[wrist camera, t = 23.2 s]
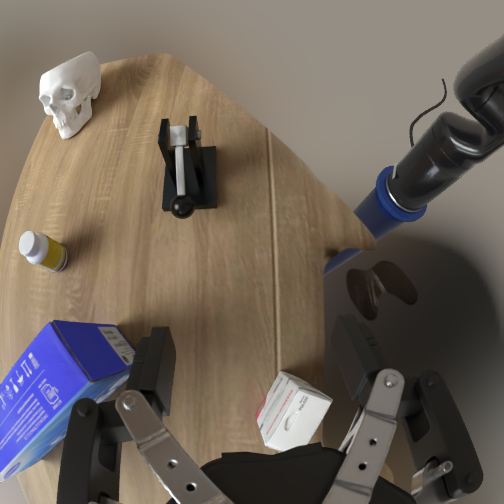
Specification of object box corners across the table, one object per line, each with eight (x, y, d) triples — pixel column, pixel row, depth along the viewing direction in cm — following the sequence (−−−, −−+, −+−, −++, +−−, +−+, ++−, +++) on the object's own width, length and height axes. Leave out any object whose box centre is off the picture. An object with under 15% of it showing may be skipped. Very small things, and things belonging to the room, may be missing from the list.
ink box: (283, 427, 36) (299, 459, 25) (254, 416, 36) (261, 446, 25) (309, 381, 38) (335, 398, 27) (280, 368, 39) (297, 383, 27)
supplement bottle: (69, 243, 42) (39, 224, 33) (67, 272, 41) (35, 258, 31) (48, 246, 42) (18, 228, 32) (46, 273, 40) (14, 260, 31)
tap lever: (197, 215, 40) (194, 220, 37) (173, 217, 40) (168, 221, 37) (193, 127, 36) (190, 123, 33) (169, 130, 36) (164, 126, 33)
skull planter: (39, 149, 45) (21, 77, 31) (75, 118, 59) (65, 59, 45) (84, 138, 46) (69, 56, 32) (116, 109, 60) (108, 46, 46)
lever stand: (216, 208, 45) (210, 161, 32) (164, 211, 45) (139, 167, 31) (216, 150, 48) (211, 97, 35) (168, 154, 48) (152, 103, 34)
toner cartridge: (41, 461, 29) (-11, 488, 11) (17, 429, 30) (-39, 446, 12) (149, 363, 38) (92, 383, 20) (116, 323, 39) (47, 315, 21)
